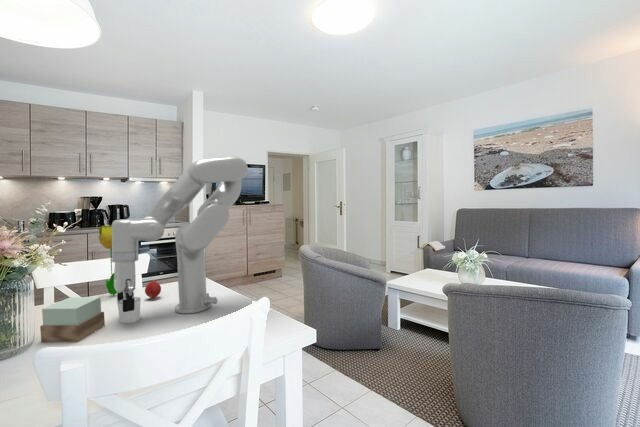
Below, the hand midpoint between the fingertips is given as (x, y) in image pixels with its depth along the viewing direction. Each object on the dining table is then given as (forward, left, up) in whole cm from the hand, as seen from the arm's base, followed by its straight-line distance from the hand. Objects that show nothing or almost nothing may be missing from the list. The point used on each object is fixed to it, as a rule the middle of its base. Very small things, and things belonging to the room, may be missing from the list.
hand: (125, 306), depth 107 cm
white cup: (-1, -1, -5) cm, 5 cm away
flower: (+22, -27, -5) cm, 35 cm away
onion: (+3, -23, -5) cm, 23 cm away
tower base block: (+10, +9, -5) cm, 15 cm away
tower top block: (+10, +9, 0) cm, 14 cm away
